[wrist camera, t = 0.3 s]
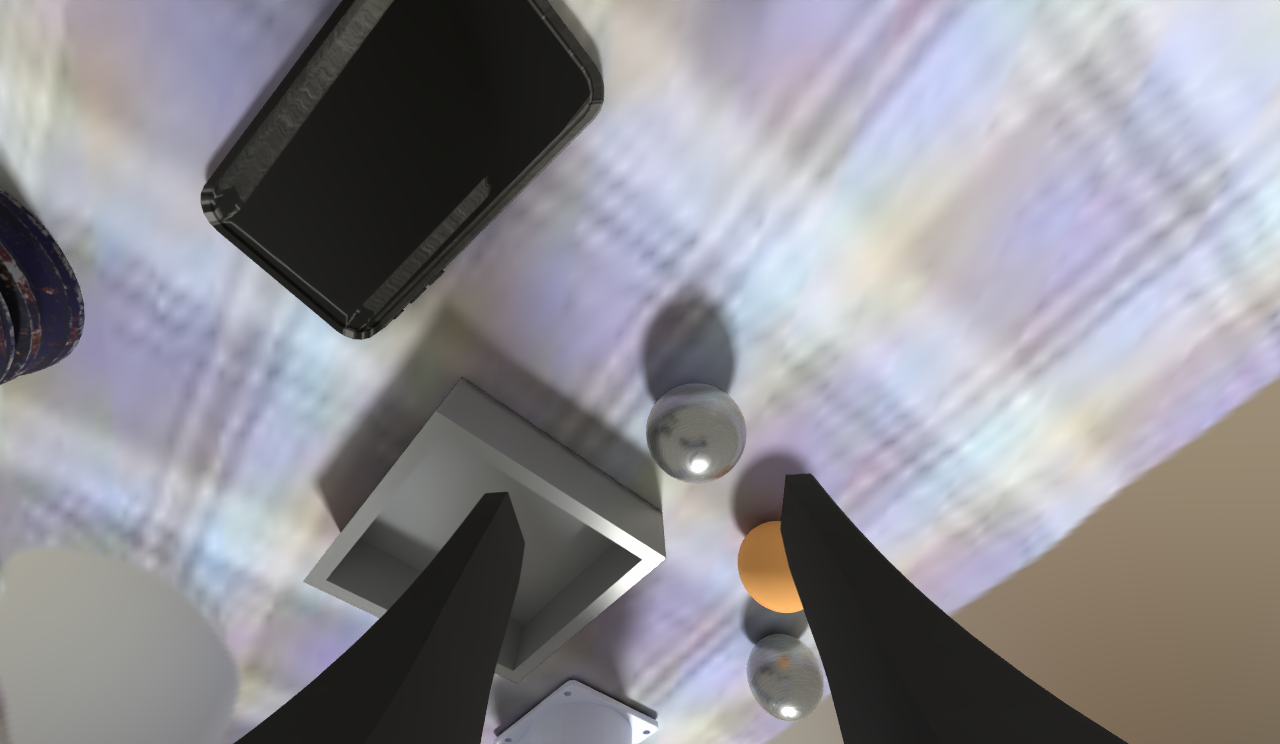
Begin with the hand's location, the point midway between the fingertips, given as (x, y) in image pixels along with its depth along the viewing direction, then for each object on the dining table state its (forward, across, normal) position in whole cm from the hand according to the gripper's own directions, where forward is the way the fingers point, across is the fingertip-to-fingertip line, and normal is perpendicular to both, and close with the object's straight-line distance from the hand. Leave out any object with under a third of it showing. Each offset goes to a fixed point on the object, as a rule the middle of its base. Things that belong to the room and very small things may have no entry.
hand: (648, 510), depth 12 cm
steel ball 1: (+8, -2, +4) cm, 9 cm away
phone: (+12, +9, -8) cm, 16 cm away
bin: (+9, +9, +10) cm, 16 cm away
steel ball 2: (+6, -7, +22) cm, 23 cm away
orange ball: (+7, -6, +12) cm, 15 cm away
